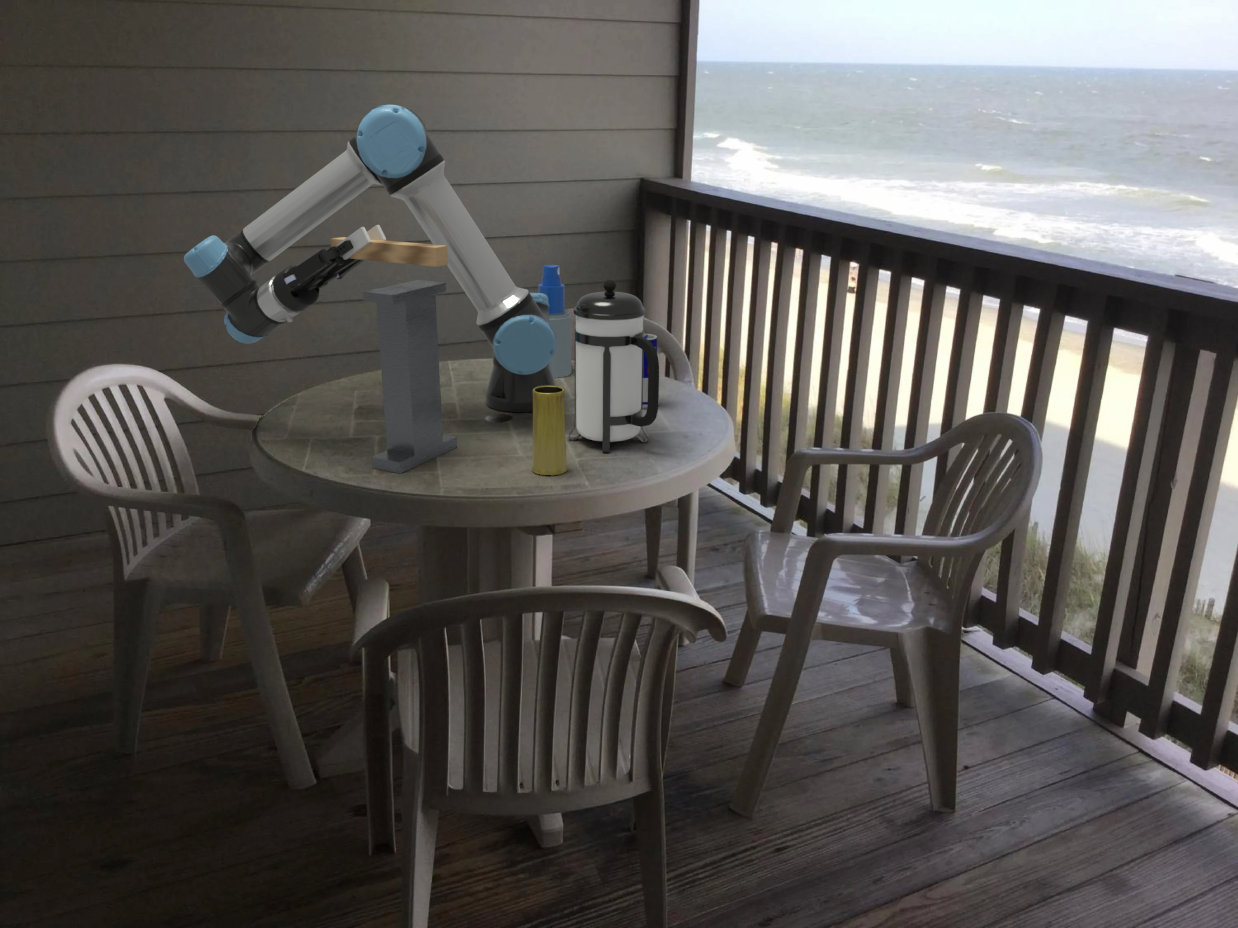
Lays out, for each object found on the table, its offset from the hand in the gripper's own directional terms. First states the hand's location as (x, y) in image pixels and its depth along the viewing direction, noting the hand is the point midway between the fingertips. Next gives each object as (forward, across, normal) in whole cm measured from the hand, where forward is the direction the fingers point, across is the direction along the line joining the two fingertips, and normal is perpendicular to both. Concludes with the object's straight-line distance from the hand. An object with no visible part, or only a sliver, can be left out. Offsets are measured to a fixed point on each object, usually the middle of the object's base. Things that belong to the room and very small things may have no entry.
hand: (373, 233), depth 164 cm
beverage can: (+4, -49, -47) cm, 68 cm away
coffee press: (+9, -25, -50) cm, 56 cm away
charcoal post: (-14, 0, -36) cm, 39 cm away
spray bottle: (-23, -63, -32) cm, 74 cm away
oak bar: (0, 0, -5) cm, 5 cm away
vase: (+6, -6, -48) cm, 49 cm away
